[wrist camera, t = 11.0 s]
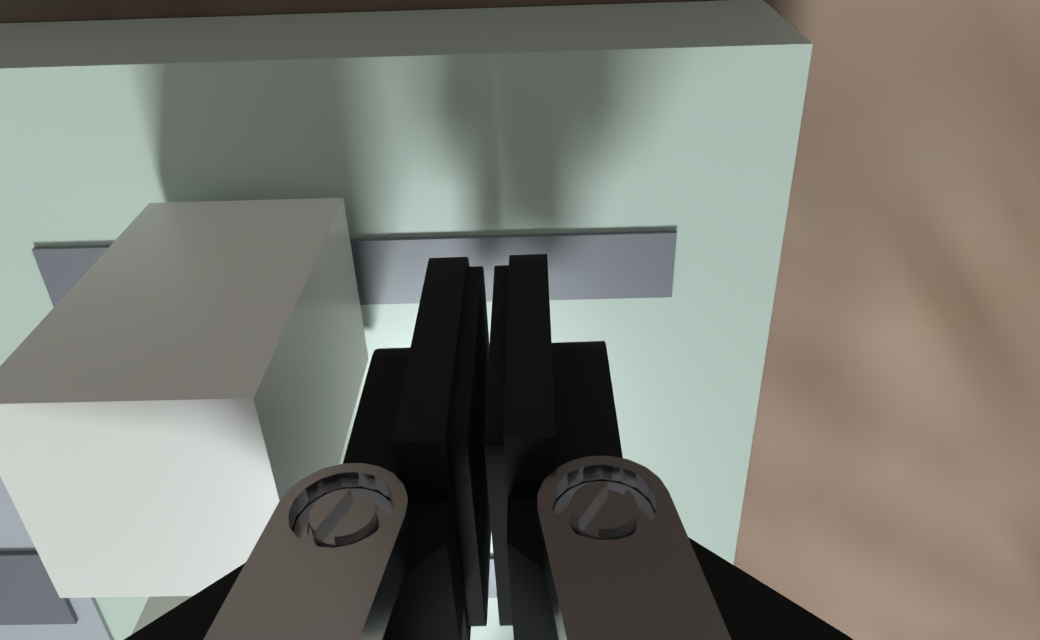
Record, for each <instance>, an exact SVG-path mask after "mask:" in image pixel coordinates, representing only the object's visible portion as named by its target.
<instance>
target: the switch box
mask: <svg viewBox="0 0 1040 640" xmlns="http://www.w3.org/2000/svg"><path fill="white" fill-rule="evenodd" d="M812 46H813V43H812V42H810V41H809V40H808V39H807V38H806V37H805V36H804V35H802V34H801V33H800V32H799V31H798V30H797V29H796V28H794V27H793V26H792V25H791V24H790V23H789V22H788V21H787V20H785V19H784V18H783V17H782V16H781V15H780V14H779V13H777V12H776V11H775V10H774V9H773V8H772V7H771V6H770V5H768V4H767V3H766V2H765V1H764V0H724V1H693V2H661V3H630V4H598V5H567V6H535V7H504V8H472V9H441V10H409V11H378V12H346V13H315V14H283V15H252V16H220V17H189V18H157V19H126V20H94V21H63V22H31V23H0V366H1V365H2V364H3V363H4V362H5V361H6V359H7V358H8V357H9V356H10V355H11V354H12V353H13V352H14V351H15V350H16V348H17V347H18V346H19V345H20V344H21V343H22V342H23V341H24V340H25V339H26V338H27V336H28V335H29V334H30V333H31V332H32V331H33V330H34V329H35V328H36V327H37V325H38V324H39V323H40V322H41V321H42V320H43V319H44V318H45V317H46V316H47V315H48V313H49V312H50V311H51V310H52V309H53V308H54V307H55V306H56V305H57V304H58V302H59V301H60V300H61V299H62V298H63V297H64V296H65V295H66V294H67V293H68V292H69V290H70V289H71V288H72V287H73V286H74V285H75V284H76V283H77V282H78V281H79V279H80V278H81V277H82V276H83V275H84V274H85V273H86V272H87V271H88V270H89V269H90V267H91V266H92V265H93V264H94V263H95V262H96V261H97V260H98V259H99V258H100V256H101V255H102V254H103V253H104V252H105V251H106V250H107V249H108V248H109V247H110V246H111V244H112V243H113V242H114V241H115V240H116V239H117V238H118V237H119V236H120V235H121V233H122V232H123V231H124V230H125V229H126V228H127V227H128V226H129V225H130V224H131V223H132V221H133V220H134V219H135V218H136V217H137V216H138V215H139V214H140V213H141V212H142V210H143V209H144V208H145V207H146V206H147V205H148V204H149V203H165V202H202V201H240V200H277V199H314V198H343V199H344V205H345V212H346V218H347V224H348V231H349V237H350V244H351V250H352V256H353V263H354V269H355V275H356V282H357V288H358V295H359V301H360V307H361V314H362V320H363V326H364V333H365V339H366V346H367V352H368V362H367V366H366V369H365V373H364V376H363V380H362V384H361V387H360V391H359V394H358V398H357V402H356V405H355V409H354V413H353V416H352V420H351V423H350V427H349V431H348V434H347V438H346V441H345V445H344V449H343V452H342V456H341V459H340V463H339V464H343V461H344V457H345V453H346V450H347V446H348V442H349V439H350V435H351V431H352V428H353V424H354V420H355V416H356V413H357V409H358V405H359V402H360V398H361V394H362V391H363V387H364V383H365V380H366V376H367V372H368V369H369V365H370V361H371V357H372V355H373V352H374V350H376V349H379V348H409V347H411V342H412V337H413V333H414V328H415V323H416V318H417V313H418V308H419V303H420V299H421V294H422V289H423V284H424V279H425V274H426V269H427V265H428V260H429V258H446V257H468V259H469V266H470V267H472V266H483V269H484V278H485V292H486V305H487V318H488V331H489V344H490V329H491V313H492V298H493V282H494V267H495V266H500V265H509V255H528V254H547V260H548V280H549V301H550V321H551V341H552V343H558V342H587V341H605V343H606V348H607V354H608V361H609V368H610V375H611V381H612V388H613V395H614V402H615V408H616V415H617V422H618V429H619V435H620V442H621V449H622V456H623V458H624V459H629V460H631V461H633V462H636V463H638V464H640V465H643V466H645V467H647V468H648V469H649V470H650V471H652V472H653V473H654V474H656V475H657V476H658V477H659V478H660V479H661V480H662V482H663V483H664V485H665V486H666V488H667V489H668V491H669V493H670V496H671V498H672V500H673V503H674V505H675V507H676V510H677V512H678V514H679V517H680V519H681V522H682V524H683V526H684V529H685V531H686V533H687V536H688V537H689V538H691V539H692V540H694V541H696V542H697V543H699V544H700V545H702V546H704V547H705V548H707V549H708V550H710V551H712V552H713V553H715V554H716V555H718V556H720V557H721V558H723V559H725V560H726V561H728V562H729V563H731V564H733V563H734V557H735V550H736V544H737V537H738V531H739V524H740V518H741V511H742V504H743V498H744V491H745V485H746V478H747V472H748V465H749V459H750V452H751V445H752V439H753V432H754V426H755V419H756V413H757V406H758V400H759V393H760V387H761V380H762V373H763V367H764V360H765V354H766V347H767V341H768V334H769V328H770V321H771V315H772V308H773V301H774V295H775V288H776V282H777V275H778V269H779V262H780V256H781V249H782V242H783V236H784V229H785V223H786V216H787V210H788V203H789V197H790V190H791V184H792V177H793V170H794V164H795V157H796V151H797V144H798V138H799V131H800V125H801V118H802V112H803V105H804V98H805V92H806V85H807V79H808V72H809V66H810V59H811V53H812ZM148 598H149V597H94V598H60V597H59V595H58V593H57V591H56V589H55V587H54V585H53V583H52V581H51V579H50V577H49V575H48V573H47V571H46V569H45V567H44V565H43V563H42V560H41V558H40V556H39V554H38V552H37V550H36V548H35V546H34V544H33V542H32V540H31V538H30V536H29V534H28V532H27V530H26V528H25V526H24V524H23V522H22V520H21V518H20V516H19V513H18V511H17V509H16V507H15V505H14V503H13V501H12V499H11V497H10V495H9V493H8V491H7V489H6V487H5V485H4V483H3V481H2V479H1V477H0V640H124V639H126V638H127V637H129V636H130V635H131V634H132V632H133V630H134V628H135V626H136V624H137V622H138V619H139V617H140V615H141V613H142V611H143V609H144V607H145V604H146V602H147V600H148ZM470 640H514V636H513V626H500V624H499V613H498V602H497V590H496V579H495V567H494V556H493V544H492V533H491V547H490V569H489V592H488V614H487V625H486V626H474V627H471V636H470Z"/></svg>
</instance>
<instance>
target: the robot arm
mask: <svg viewBox="0 0 1040 640" xmlns="http://www.w3.org/2000/svg"><path fill="white" fill-rule="evenodd" d="M491 533H492V544H493V556H494V567H495V579H496V590H497V602H498V613H499V624H500V626H513V636H514V640H853V639H852V638H850V637H849V636H847V635H846V634H844V633H842V632H841V631H839V630H837V629H836V628H834V627H833V626H831V625H829V624H828V623H826V622H825V621H823V620H821V619H820V618H818V617H816V616H815V615H813V614H812V613H810V612H808V611H807V610H805V609H804V608H802V607H800V606H799V605H797V604H796V603H794V602H792V601H791V600H789V599H787V598H786V597H784V596H783V595H781V594H779V593H778V592H776V591H775V590H773V589H771V588H770V587H768V586H766V585H765V584H763V583H762V582H760V581H758V580H757V579H755V578H754V577H752V576H750V575H749V574H747V573H746V572H744V571H742V570H741V569H739V568H737V567H736V566H734V565H733V564H731V563H729V562H728V561H726V560H725V559H723V558H721V557H720V556H718V555H716V554H715V553H713V552H712V551H710V550H708V549H707V548H705V547H704V546H702V545H700V544H699V543H697V542H696V541H694V540H692V539H691V538H689V537H688V536H687V533H686V531H685V529H684V526H683V524H682V522H681V519H680V517H679V514H678V512H677V510H676V507H675V505H674V503H673V500H672V498H671V496H670V493H669V491H668V489H667V488H666V486H665V485H664V483H663V482H662V480H661V479H660V478H659V477H658V476H657V475H656V474H654V473H653V472H652V471H650V470H649V469H648V468H647V467H645V466H643V465H640V464H638V463H636V462H633V461H631V460H629V459H624V458H623V456H622V449H621V442H620V435H619V429H618V422H617V415H616V408H615V402H614V395H613V388H612V381H611V375H610V368H609V361H608V354H607V348H606V343H605V341H587V342H558V343H552V341H551V321H550V301H549V280H548V260H547V254H528V255H509V265H500V266H495V267H494V282H493V298H492V313H491V329H490V344H489V331H488V318H487V305H486V292H485V278H484V269H483V266H472V267H470V266H469V259H468V257H446V258H429V260H428V265H427V269H426V274H425V279H424V284H423V289H422V294H421V299H420V303H419V308H418V313H417V318H416V323H415V328H414V333H413V337H412V342H411V347H409V348H379V349H376V350H374V352H373V355H372V357H371V361H370V365H369V369H368V372H367V376H366V380H365V383H364V387H363V391H362V394H361V398H360V402H359V405H358V409H357V413H356V416H355V420H354V424H353V428H352V431H351V435H350V439H349V442H348V446H347V450H346V453H345V457H344V461H343V464H339V465H335V466H331V467H327V468H323V469H321V470H319V471H316V472H314V473H312V474H310V475H308V476H306V477H304V478H303V479H301V480H300V481H299V482H298V483H296V484H295V485H294V486H292V487H291V488H290V489H289V490H288V491H287V493H286V494H285V495H284V496H283V498H282V499H281V500H280V502H279V503H278V505H277V507H276V509H275V510H274V512H273V514H272V516H271V518H270V519H269V521H268V523H267V525H266V527H265V528H264V530H263V532H262V534H261V536H260V538H259V539H258V541H257V543H256V545H255V547H254V548H253V550H252V552H251V554H250V556H249V558H248V559H247V561H246V563H244V564H243V565H241V566H239V567H238V568H236V569H235V570H233V571H231V572H230V573H228V574H227V575H225V576H224V577H222V578H220V579H219V580H217V581H216V582H214V583H213V584H211V585H209V586H208V587H206V588H205V589H203V590H201V591H200V592H198V593H197V594H195V595H194V596H192V597H190V598H189V599H187V600H186V601H184V602H182V603H181V604H179V605H178V606H176V607H175V608H173V609H171V610H170V611H168V612H167V613H165V614H164V615H162V616H160V617H159V618H157V619H156V620H154V621H152V622H151V623H149V624H148V625H146V626H145V627H143V628H141V629H140V630H138V631H137V632H135V633H134V634H132V635H130V636H129V637H127V638H126V639H124V640H470V636H471V627H474V626H486V625H487V614H488V592H489V569H490V547H491Z"/></svg>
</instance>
